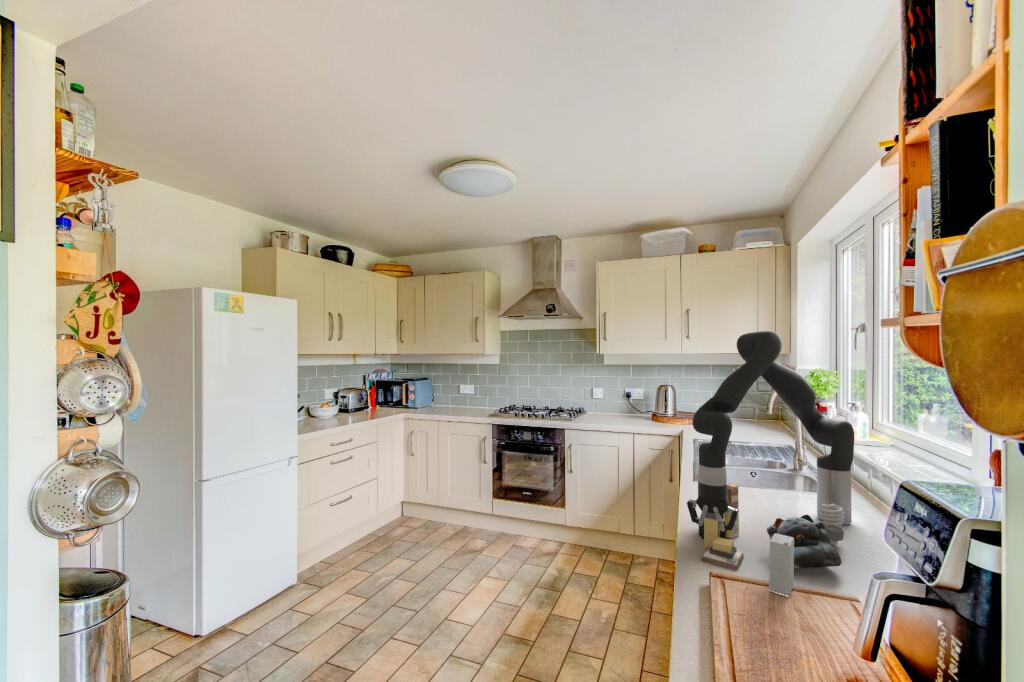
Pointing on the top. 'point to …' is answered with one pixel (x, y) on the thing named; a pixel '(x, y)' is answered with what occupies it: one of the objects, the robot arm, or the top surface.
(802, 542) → the lucky cat figurine
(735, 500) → the candy box
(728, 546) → the ochre key
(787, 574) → the skincare box
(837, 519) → the light bulb
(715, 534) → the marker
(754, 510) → the top surface
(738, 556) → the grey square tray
